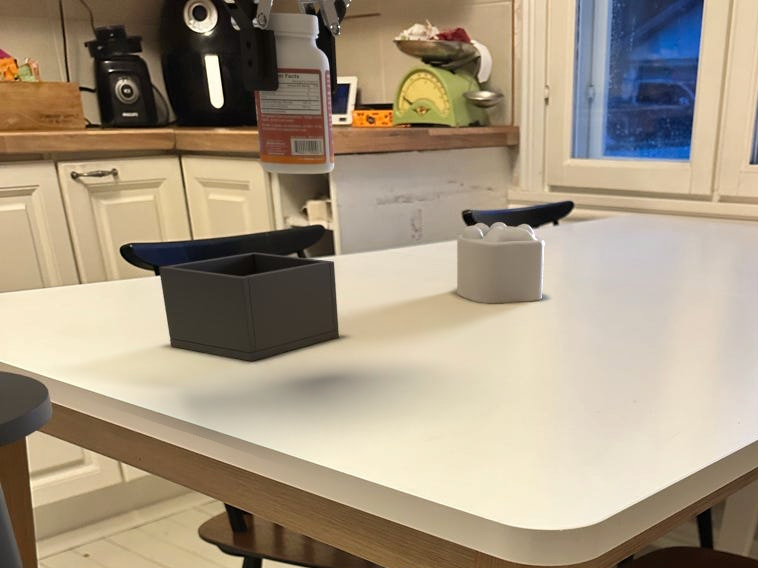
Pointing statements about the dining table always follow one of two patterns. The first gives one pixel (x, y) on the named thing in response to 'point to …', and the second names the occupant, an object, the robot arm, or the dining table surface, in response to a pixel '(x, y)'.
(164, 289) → the basket
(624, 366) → the dining table surface
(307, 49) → the pill bottle
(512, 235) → the lumpy-topped squat cylinder
